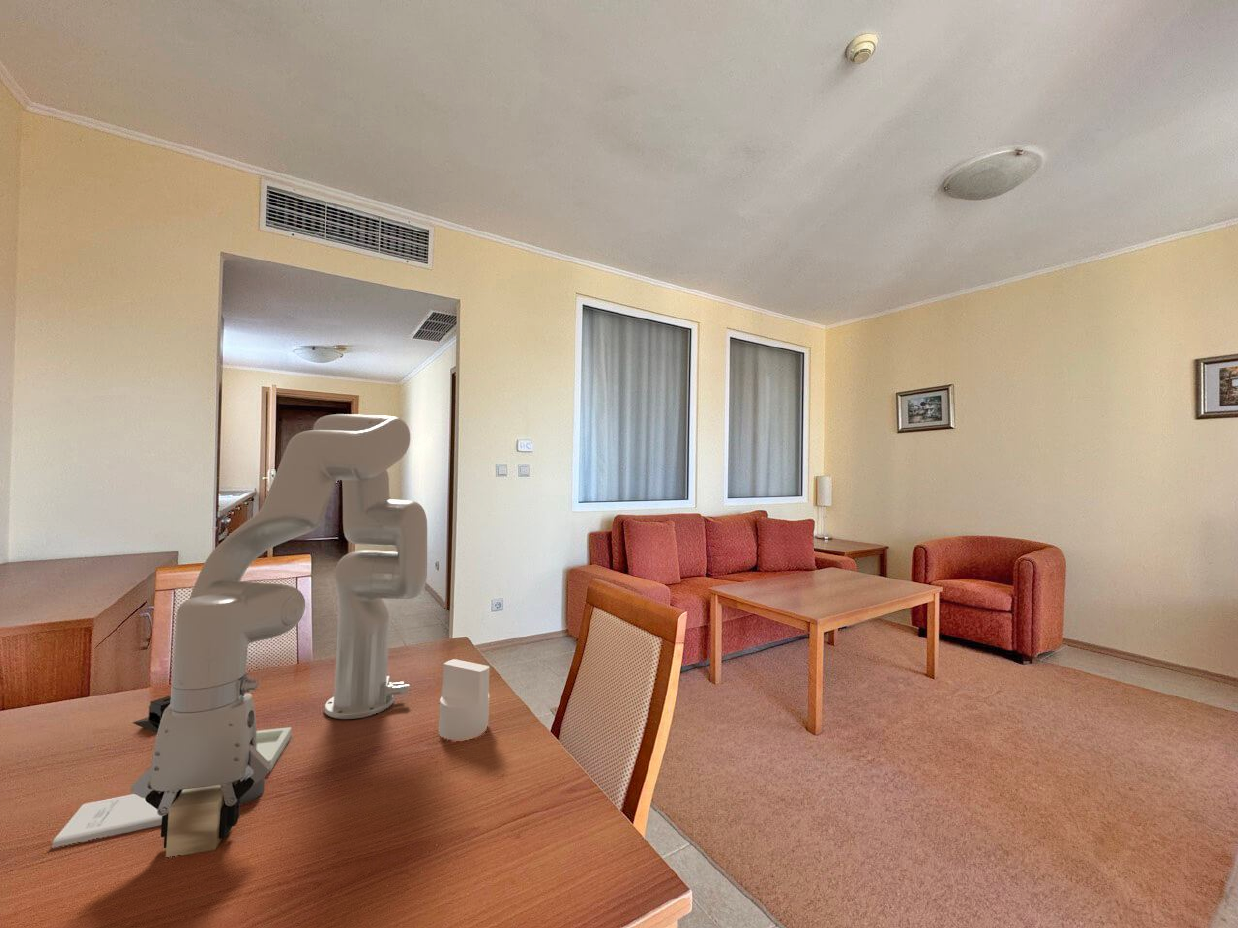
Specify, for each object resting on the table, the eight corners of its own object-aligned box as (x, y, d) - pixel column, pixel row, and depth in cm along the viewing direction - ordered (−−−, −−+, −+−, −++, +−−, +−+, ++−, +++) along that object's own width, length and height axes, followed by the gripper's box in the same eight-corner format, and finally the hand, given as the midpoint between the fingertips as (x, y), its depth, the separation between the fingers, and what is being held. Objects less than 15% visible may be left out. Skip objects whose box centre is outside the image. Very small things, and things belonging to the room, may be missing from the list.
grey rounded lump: (268, 783, 77) (269, 763, 77) (257, 801, 72) (259, 780, 73) (233, 788, 75) (235, 768, 75) (221, 807, 71) (222, 785, 71)
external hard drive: (180, 825, 68) (51, 853, 62) (197, 790, 75) (83, 813, 70) (180, 813, 68) (52, 840, 62) (198, 779, 75) (84, 801, 70)
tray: (291, 737, 90) (291, 726, 90) (270, 771, 80) (271, 760, 80) (217, 745, 86) (218, 734, 86) (185, 782, 76) (186, 770, 76)
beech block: (231, 823, 68) (234, 778, 68) (214, 849, 63) (217, 801, 63) (186, 830, 66) (188, 784, 66) (165, 857, 61) (168, 807, 62)
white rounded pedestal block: (427, 734, 93) (430, 668, 93) (460, 714, 101) (463, 653, 101) (467, 745, 89) (470, 677, 90) (497, 723, 98) (500, 661, 98)
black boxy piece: (204, 724, 94) (206, 700, 94) (156, 742, 88) (157, 716, 88) (168, 709, 99) (170, 686, 100) (120, 725, 93) (121, 700, 93)
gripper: (293, 675, 71) (285, 806, 71) (144, 687, 66) (134, 828, 65) (276, 697, 64) (267, 843, 64) (107, 713, 59) (96, 871, 58)
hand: (200, 834), depth 65 cm, fingers closed on beech block, 5 cm apart
